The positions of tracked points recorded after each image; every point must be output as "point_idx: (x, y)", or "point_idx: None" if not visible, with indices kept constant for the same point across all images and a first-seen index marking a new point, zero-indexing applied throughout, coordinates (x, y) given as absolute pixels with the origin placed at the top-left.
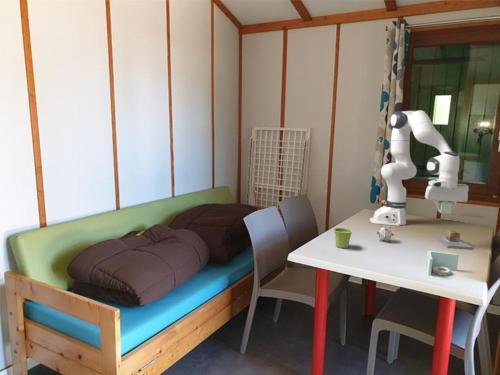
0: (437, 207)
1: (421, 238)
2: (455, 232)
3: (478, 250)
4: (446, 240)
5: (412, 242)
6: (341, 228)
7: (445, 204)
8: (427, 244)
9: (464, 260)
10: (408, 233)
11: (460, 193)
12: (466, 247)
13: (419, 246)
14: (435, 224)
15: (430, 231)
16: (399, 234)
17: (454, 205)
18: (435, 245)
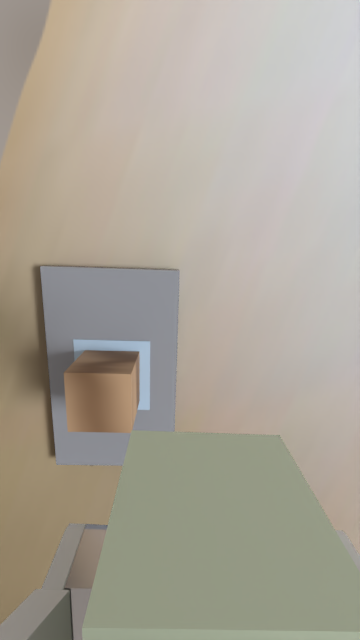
0: (357, 557)
1: (252, 424)
2: (92, 386)
3: (16, 256)
4: (147, 374)
5: (334, 342)
6: None
7: (280, 605)
8: (265, 320)
9: (171, 22)
10: None
11: None
12: (75, 267)
13: (327, 273)
14: None
15: None
16: (340, 472)
17: (13, 625)
18: (227, 309)
